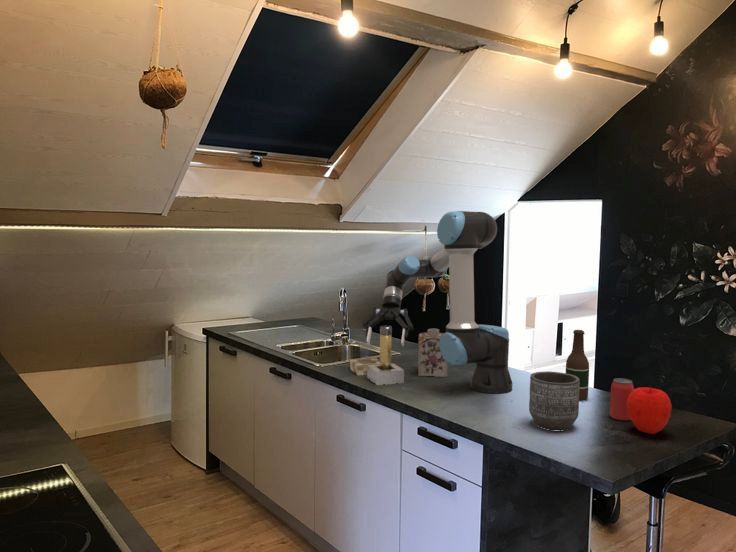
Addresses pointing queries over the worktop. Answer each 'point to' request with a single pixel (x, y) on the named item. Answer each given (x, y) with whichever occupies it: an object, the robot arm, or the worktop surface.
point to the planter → (554, 399)
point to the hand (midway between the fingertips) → (385, 343)
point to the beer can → (620, 398)
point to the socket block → (385, 374)
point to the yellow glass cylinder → (385, 347)
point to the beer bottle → (579, 364)
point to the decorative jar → (431, 355)
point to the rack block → (362, 365)
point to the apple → (649, 409)
